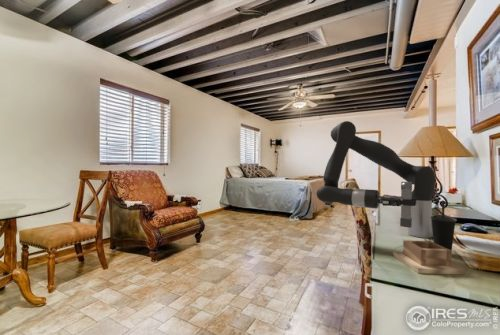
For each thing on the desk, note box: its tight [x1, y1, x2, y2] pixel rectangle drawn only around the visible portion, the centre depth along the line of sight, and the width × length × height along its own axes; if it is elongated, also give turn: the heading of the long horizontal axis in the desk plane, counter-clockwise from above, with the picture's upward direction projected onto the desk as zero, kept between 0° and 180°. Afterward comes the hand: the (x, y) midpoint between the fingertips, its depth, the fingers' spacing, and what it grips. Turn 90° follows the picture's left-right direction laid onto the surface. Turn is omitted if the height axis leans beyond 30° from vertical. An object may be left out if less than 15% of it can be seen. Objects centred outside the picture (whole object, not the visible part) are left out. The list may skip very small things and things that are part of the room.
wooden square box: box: [392, 240, 466, 275], centre depth 80 cm, size 14×14×6 cm
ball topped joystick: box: [399, 181, 413, 228], centre depth 89 cm, size 4×3×17 cm
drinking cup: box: [430, 200, 458, 253], centre depth 89 cm, size 8×8×20 cm
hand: (415, 202), depth 87 cm, fingers closed on ball topped joystick, 3 cm apart
